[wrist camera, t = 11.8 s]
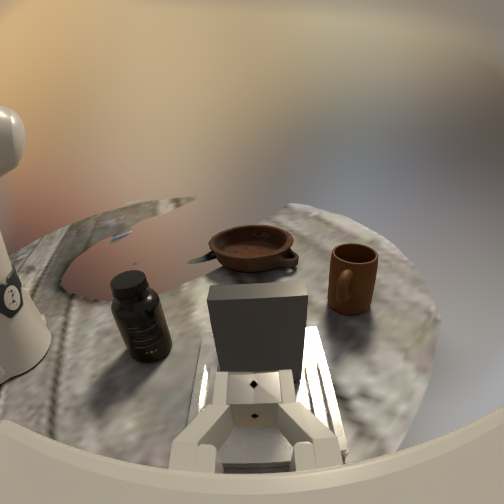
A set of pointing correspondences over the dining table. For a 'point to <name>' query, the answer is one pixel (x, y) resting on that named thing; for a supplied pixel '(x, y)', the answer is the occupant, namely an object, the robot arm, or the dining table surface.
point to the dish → (254, 248)
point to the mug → (352, 278)
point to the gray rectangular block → (259, 326)
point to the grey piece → (269, 437)
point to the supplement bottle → (140, 317)
